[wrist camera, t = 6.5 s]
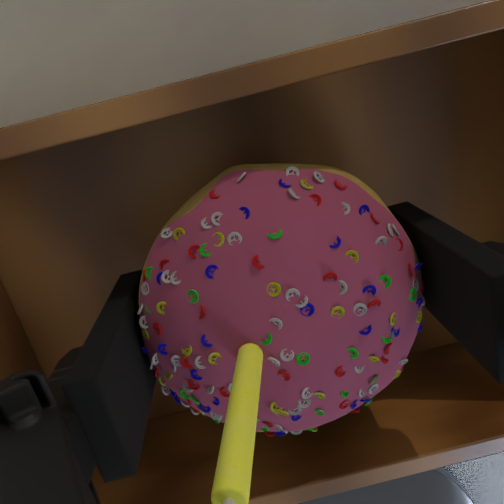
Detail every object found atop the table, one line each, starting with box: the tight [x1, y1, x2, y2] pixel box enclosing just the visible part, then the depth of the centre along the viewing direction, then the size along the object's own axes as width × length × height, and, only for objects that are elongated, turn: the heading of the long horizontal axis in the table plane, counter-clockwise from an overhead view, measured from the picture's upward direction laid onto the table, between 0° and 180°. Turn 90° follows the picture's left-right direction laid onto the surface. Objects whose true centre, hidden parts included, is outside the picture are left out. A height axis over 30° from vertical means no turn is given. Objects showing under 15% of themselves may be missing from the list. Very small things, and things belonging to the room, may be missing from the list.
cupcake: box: [137, 163, 425, 504], centre depth 13 cm, size 9×8×12 cm
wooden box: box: [0, 0, 504, 504], centre depth 16 cm, size 21×13×6 cm, turn 104°
